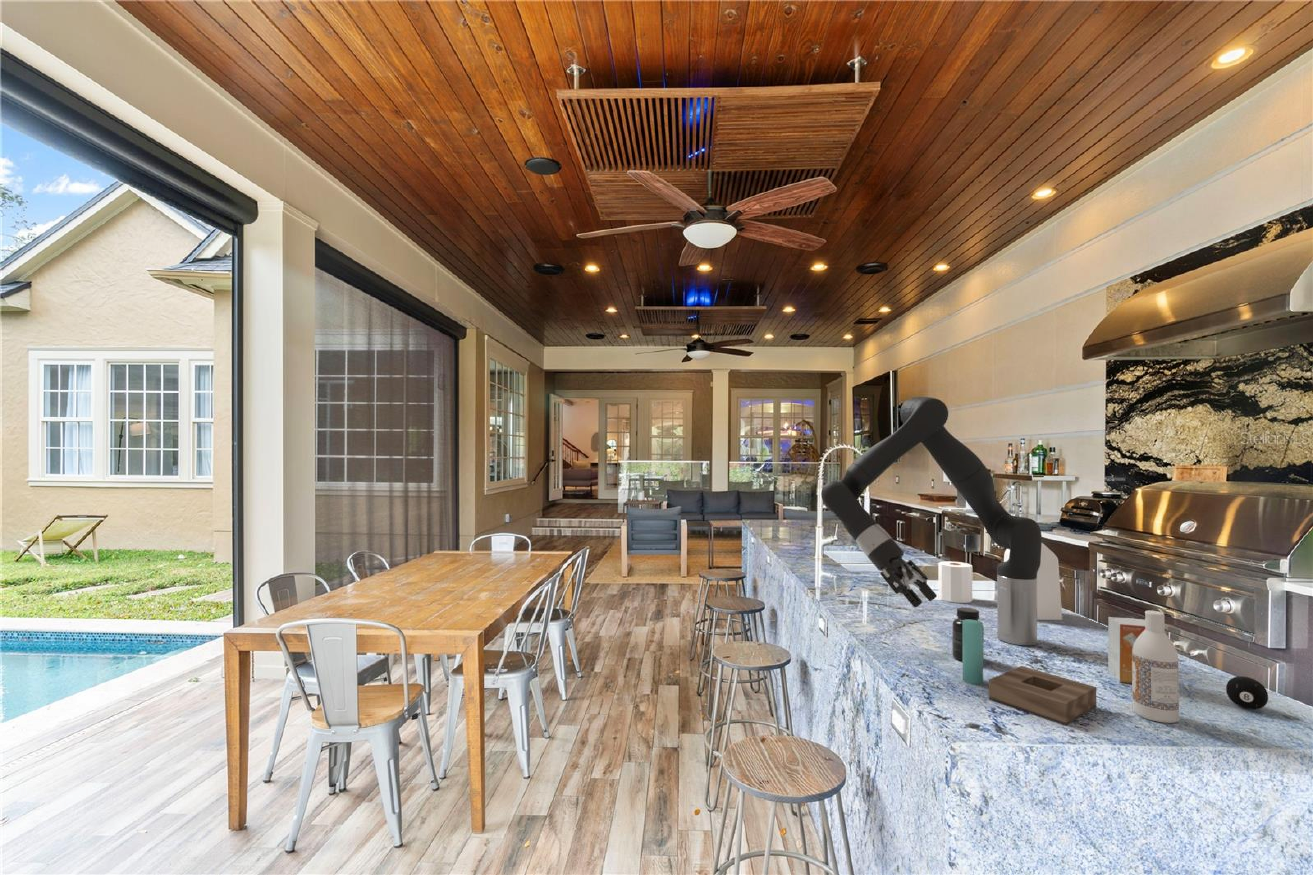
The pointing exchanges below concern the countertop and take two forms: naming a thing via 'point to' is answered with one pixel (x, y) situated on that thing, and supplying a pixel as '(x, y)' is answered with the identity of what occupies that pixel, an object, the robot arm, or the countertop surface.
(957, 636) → the supplement bottle
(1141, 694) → the bath foam
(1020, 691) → the bore block
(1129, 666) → the small box
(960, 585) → the toilet paper
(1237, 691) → the billiard ball
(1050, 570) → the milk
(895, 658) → the countertop surface
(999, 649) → the countertop surface
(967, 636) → the pin
